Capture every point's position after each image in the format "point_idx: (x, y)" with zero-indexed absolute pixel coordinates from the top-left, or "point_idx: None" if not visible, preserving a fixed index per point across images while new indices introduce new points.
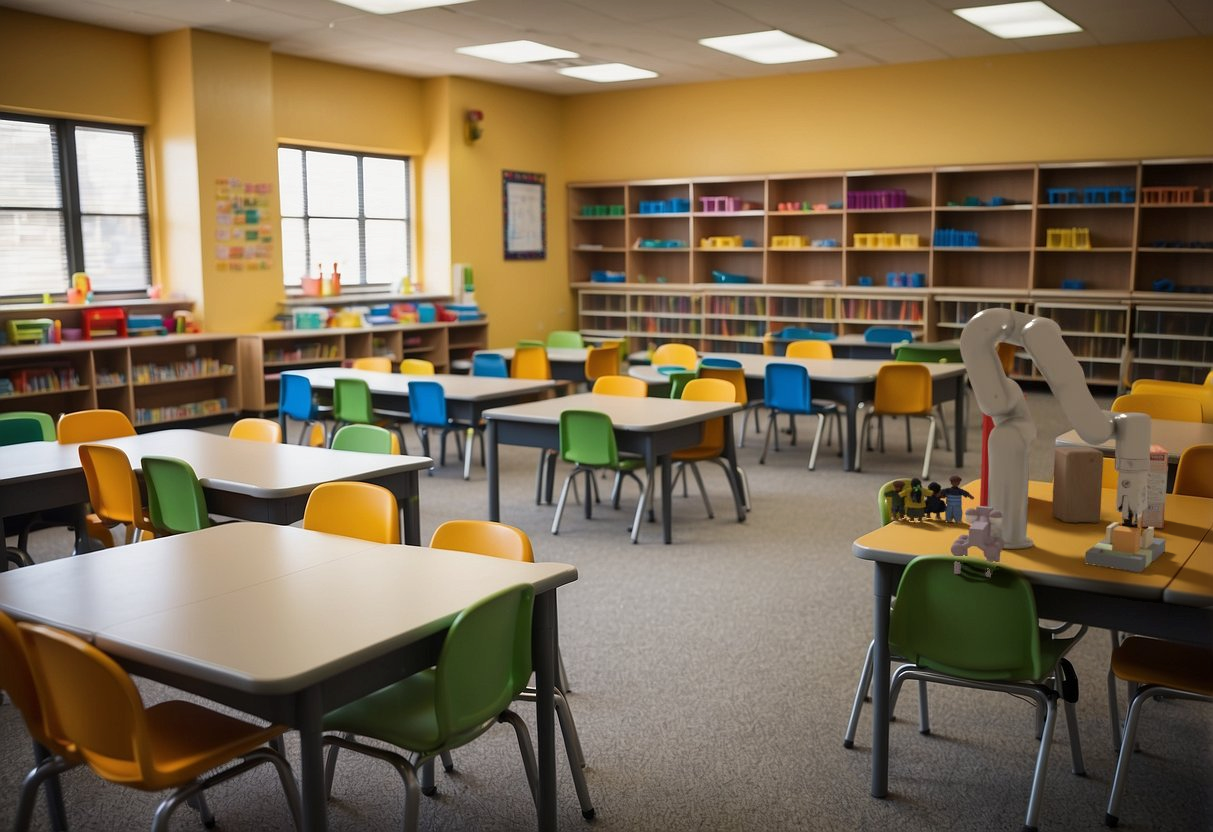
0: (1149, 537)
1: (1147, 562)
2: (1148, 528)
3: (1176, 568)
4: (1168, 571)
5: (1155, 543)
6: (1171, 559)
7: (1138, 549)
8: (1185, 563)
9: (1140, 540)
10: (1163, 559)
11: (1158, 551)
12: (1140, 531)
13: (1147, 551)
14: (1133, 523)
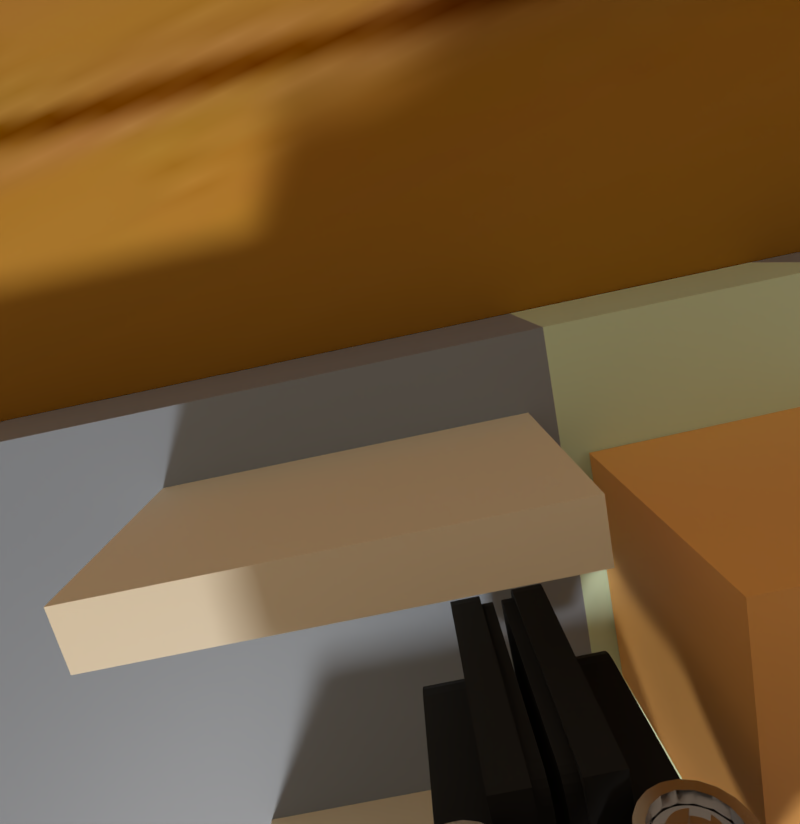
0: (365, 488)
1: (698, 279)
2: (240, 620)
3: (543, 19)
4: (734, 23)
5: (150, 463)
6: (207, 238)
7: (680, 438)
8: (250, 48)
9: (642, 494)
10: (275, 295)
11: (213, 384)
12: (769, 559)
13: (638, 342)
14: (752, 819)
